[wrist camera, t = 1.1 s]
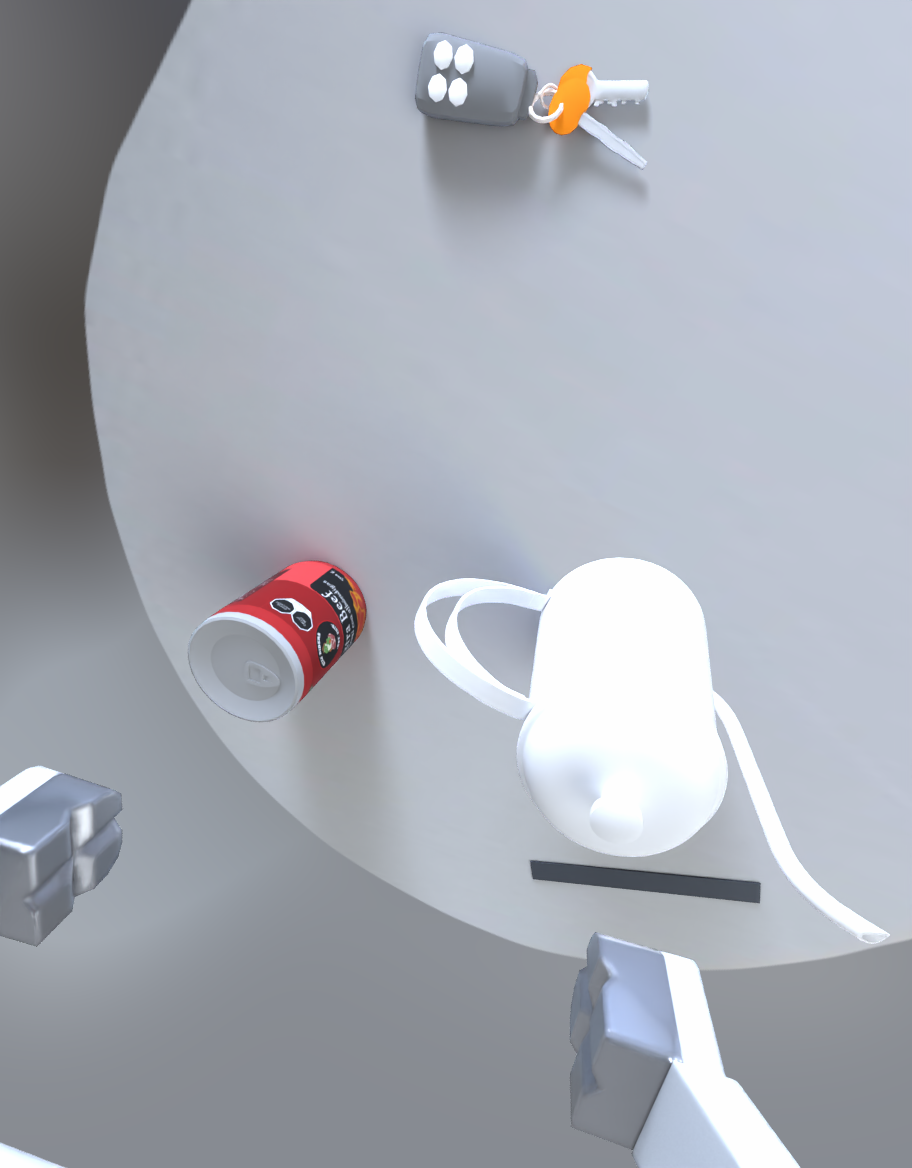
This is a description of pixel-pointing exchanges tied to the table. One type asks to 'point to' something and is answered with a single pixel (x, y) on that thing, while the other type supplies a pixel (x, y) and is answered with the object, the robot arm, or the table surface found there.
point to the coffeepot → (621, 715)
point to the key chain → (514, 91)
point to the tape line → (648, 881)
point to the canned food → (277, 640)
